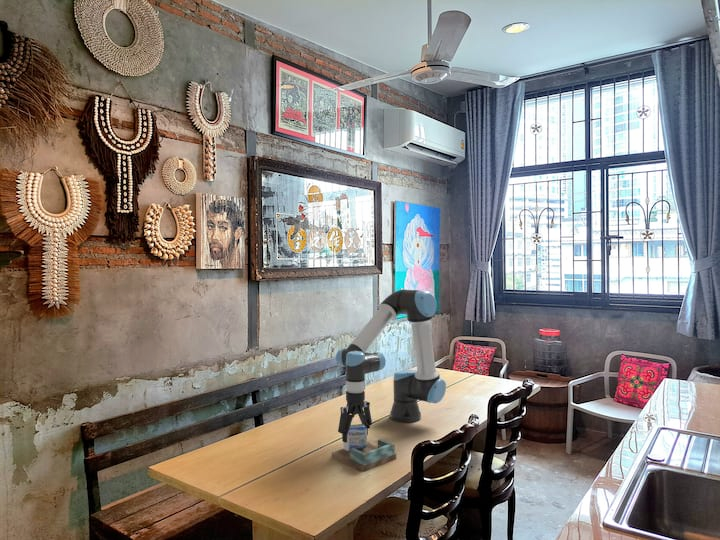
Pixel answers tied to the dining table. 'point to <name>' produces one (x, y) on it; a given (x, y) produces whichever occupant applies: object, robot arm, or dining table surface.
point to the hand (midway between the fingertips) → (355, 446)
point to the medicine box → (357, 436)
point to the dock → (367, 455)
